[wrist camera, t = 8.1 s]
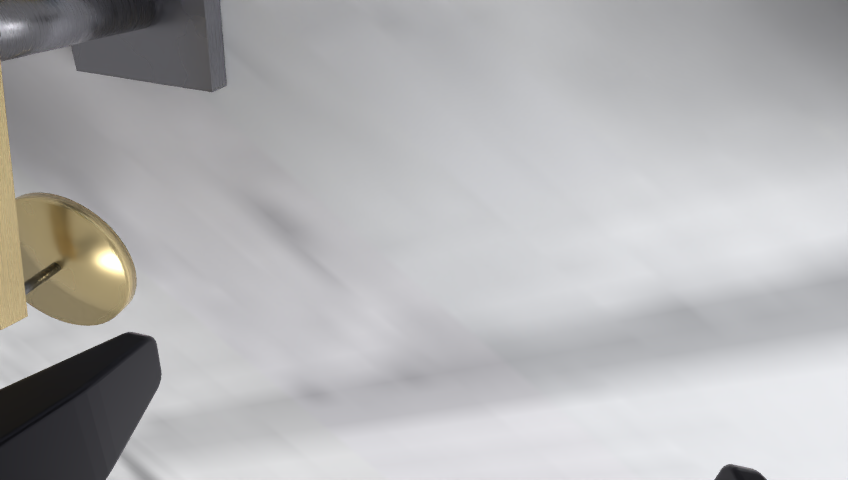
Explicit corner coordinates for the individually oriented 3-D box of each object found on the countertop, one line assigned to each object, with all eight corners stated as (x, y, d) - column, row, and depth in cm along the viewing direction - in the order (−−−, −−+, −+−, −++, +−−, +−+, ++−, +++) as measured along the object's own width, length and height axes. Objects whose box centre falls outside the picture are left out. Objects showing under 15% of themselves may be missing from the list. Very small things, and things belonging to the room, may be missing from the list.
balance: (189, -381, 13) (-313, -866, 5) (238, 240, 22) (82, 405, 14) (4, -396, 14) (-712, -862, 6) (127, 220, 23) (-84, 369, 15)
